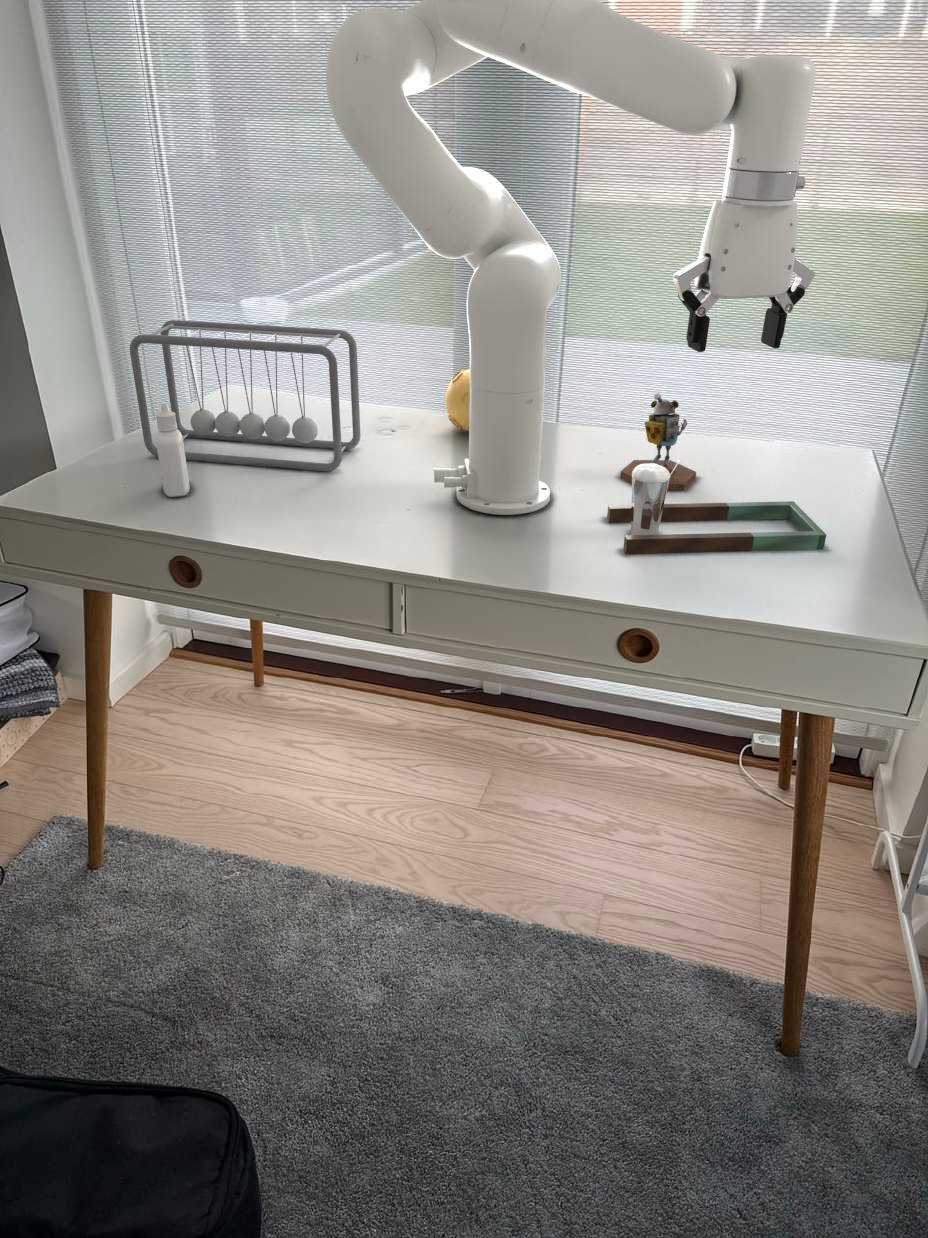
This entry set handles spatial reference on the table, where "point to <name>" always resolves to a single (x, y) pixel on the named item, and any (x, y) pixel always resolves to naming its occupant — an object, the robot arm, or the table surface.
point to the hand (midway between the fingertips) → (733, 347)
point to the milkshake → (648, 497)
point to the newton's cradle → (251, 423)
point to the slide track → (802, 539)
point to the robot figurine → (664, 444)
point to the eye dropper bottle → (171, 454)
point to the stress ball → (459, 400)
